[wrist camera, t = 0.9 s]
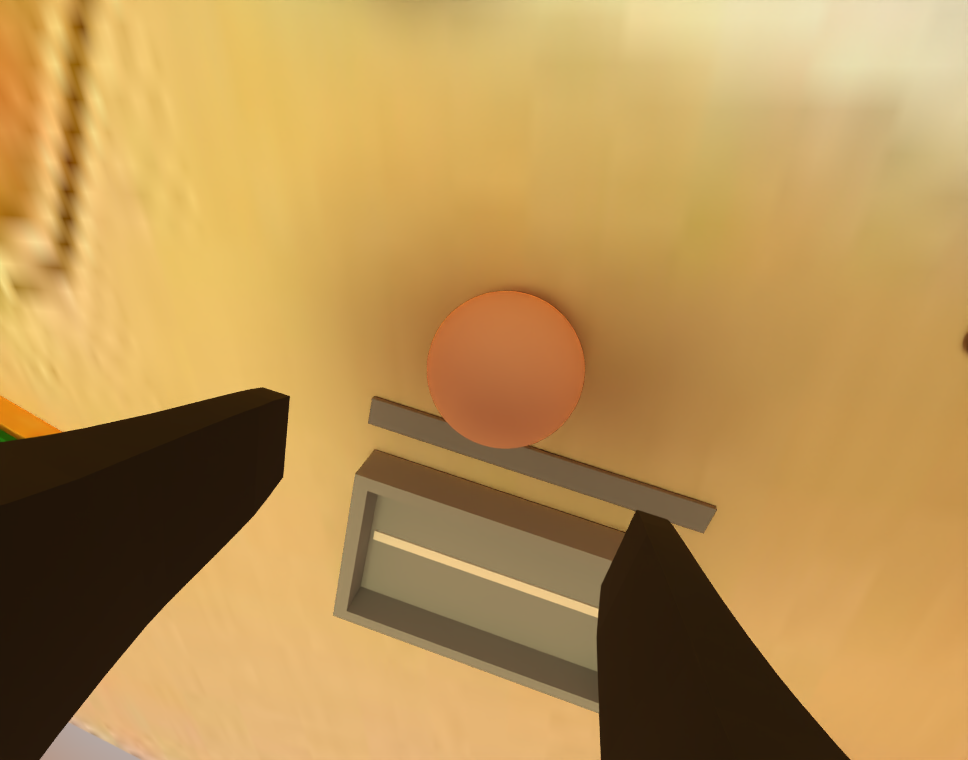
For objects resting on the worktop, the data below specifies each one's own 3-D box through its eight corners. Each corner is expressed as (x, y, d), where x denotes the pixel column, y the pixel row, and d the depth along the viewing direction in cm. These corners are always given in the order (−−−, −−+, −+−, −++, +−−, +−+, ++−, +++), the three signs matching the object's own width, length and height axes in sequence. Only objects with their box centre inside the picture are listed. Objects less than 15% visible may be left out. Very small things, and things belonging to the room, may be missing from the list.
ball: (606, 299, 17) (608, 347, 13) (562, 423, 19) (551, 502, 15) (467, 259, 17) (421, 290, 13) (438, 384, 20) (391, 448, 15)
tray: (679, 550, 20) (686, 586, 19) (610, 678, 24) (611, 717, 22) (374, 449, 21) (355, 474, 20) (351, 584, 25) (333, 615, 23)
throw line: (715, 506, 19) (716, 509, 19) (702, 529, 20) (703, 533, 19) (374, 396, 20) (372, 398, 20) (370, 421, 21) (368, 423, 21)
